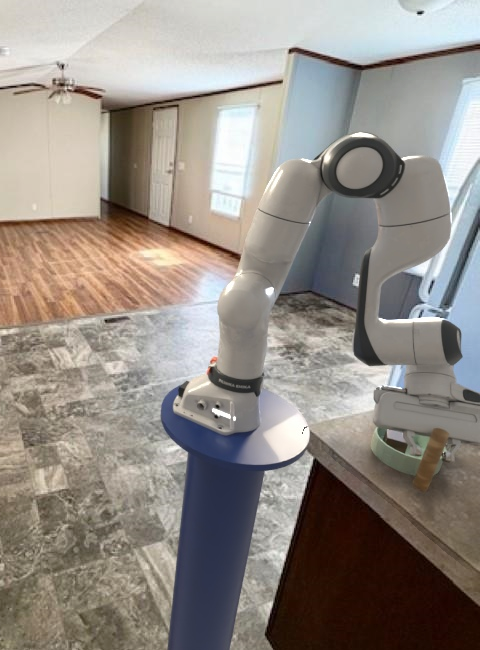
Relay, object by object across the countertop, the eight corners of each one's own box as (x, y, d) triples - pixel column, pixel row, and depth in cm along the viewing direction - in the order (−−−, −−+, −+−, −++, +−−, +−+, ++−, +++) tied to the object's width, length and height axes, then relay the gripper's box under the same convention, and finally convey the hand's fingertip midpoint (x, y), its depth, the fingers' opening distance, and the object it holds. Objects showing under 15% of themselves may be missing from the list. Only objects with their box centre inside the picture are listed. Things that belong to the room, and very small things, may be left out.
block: (382, 451, 97) (387, 437, 96) (382, 442, 101) (386, 428, 99) (403, 457, 95) (408, 443, 94) (402, 447, 99) (407, 433, 97)
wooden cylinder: (413, 488, 88) (434, 433, 82) (411, 480, 90) (431, 426, 85) (428, 493, 87) (450, 437, 81) (426, 484, 89) (448, 430, 83)
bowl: (370, 463, 95) (376, 447, 93) (369, 430, 105) (374, 415, 104) (444, 485, 89) (451, 468, 87) (435, 448, 99) (441, 433, 98)
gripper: (378, 379, 90) (377, 445, 85) (497, 398, 84) (503, 469, 79) (369, 387, 96) (367, 448, 91) (479, 405, 89) (484, 472, 85)
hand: (431, 458), depth 85 cm, fingers open, 4 cm apart
